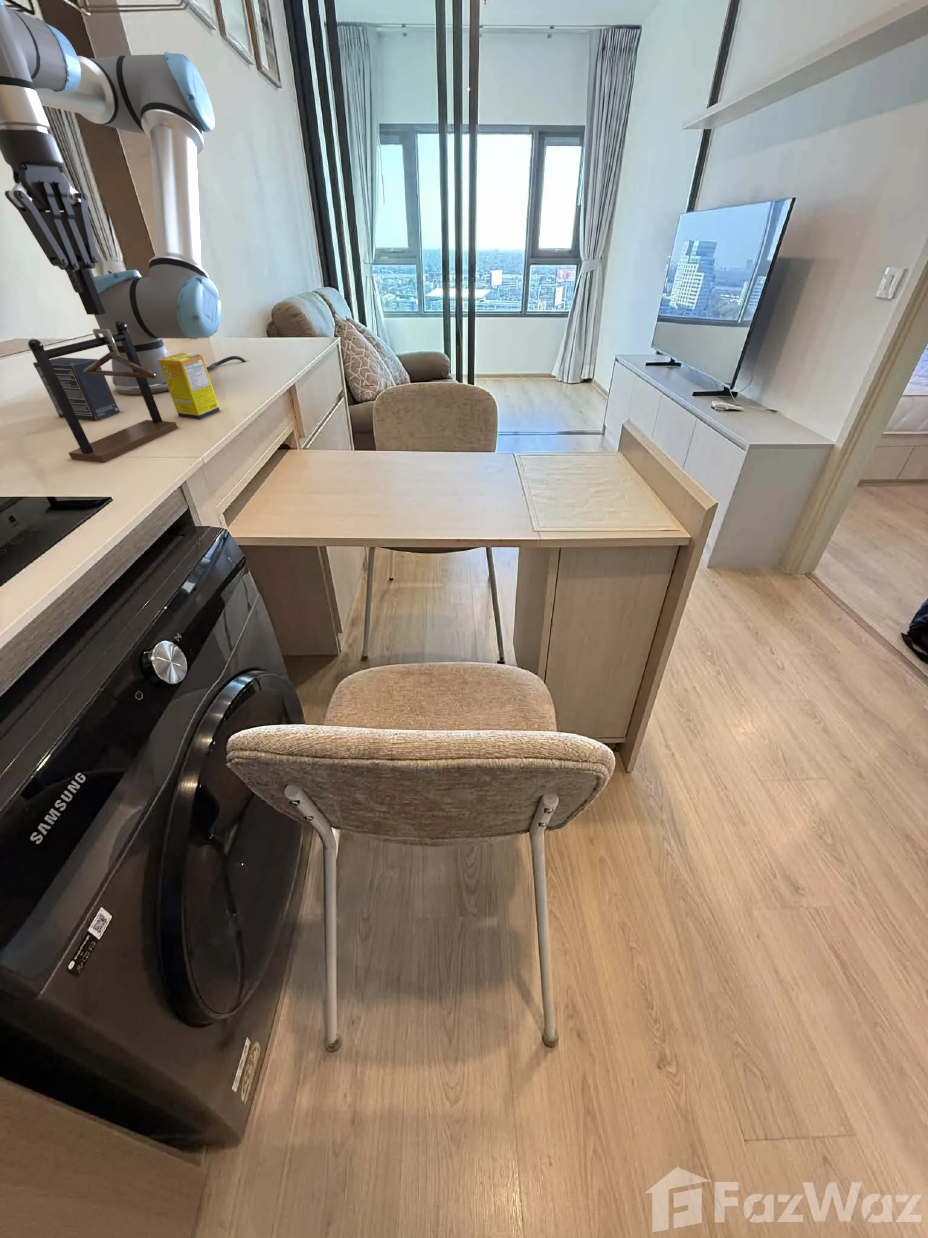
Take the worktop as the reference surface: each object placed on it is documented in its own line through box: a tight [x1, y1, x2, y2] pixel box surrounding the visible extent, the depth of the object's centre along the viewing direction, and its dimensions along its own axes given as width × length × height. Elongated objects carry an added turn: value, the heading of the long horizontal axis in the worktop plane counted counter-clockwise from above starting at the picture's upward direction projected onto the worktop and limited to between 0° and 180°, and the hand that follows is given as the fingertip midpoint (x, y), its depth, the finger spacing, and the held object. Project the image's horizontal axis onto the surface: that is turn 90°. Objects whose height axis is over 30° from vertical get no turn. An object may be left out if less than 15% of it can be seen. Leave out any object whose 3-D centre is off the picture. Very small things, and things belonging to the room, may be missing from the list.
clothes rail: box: [27, 321, 179, 463], centre depth 87 cm, size 18×7×18 cm, turn 164°
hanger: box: [83, 328, 156, 379], centre depth 87 cm, size 1×15×7 cm, turn 75°
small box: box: [32, 356, 121, 421], centre depth 104 cm, size 11×6×10 cm, turn 72°
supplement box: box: [158, 352, 221, 420], centre depth 102 cm, size 6×6×11 cm
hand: (96, 313), depth 90 cm, fingers closed
